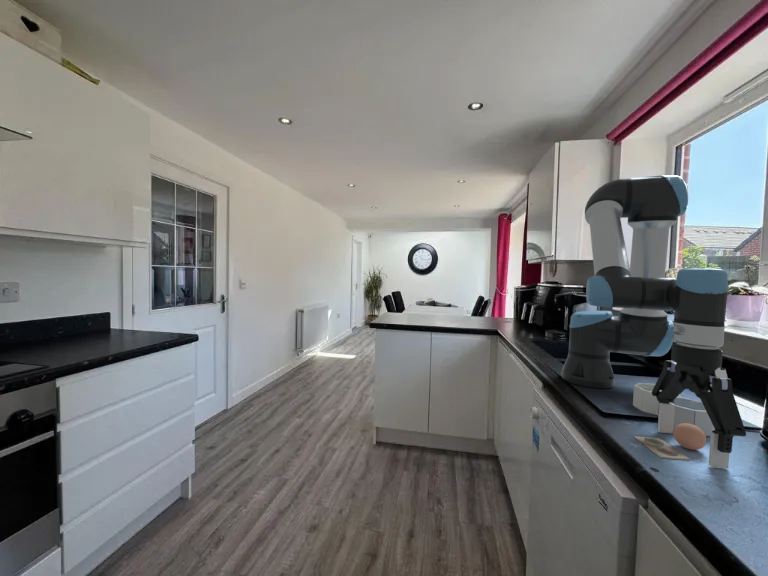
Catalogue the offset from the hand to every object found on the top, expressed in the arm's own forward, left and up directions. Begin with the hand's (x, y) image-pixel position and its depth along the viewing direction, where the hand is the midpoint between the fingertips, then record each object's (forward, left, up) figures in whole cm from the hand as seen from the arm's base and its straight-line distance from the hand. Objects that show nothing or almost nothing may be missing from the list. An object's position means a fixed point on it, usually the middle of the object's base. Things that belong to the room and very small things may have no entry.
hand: (689, 448), depth 69 cm
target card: (+1, -6, 0) cm, 6 cm away
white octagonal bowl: (-21, +7, 0) cm, 22 cm away
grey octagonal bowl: (-11, +8, 0) cm, 14 cm away
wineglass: (-21, +20, 0) cm, 29 cm away
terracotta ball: (0, 0, 0) cm, 0 cm away
